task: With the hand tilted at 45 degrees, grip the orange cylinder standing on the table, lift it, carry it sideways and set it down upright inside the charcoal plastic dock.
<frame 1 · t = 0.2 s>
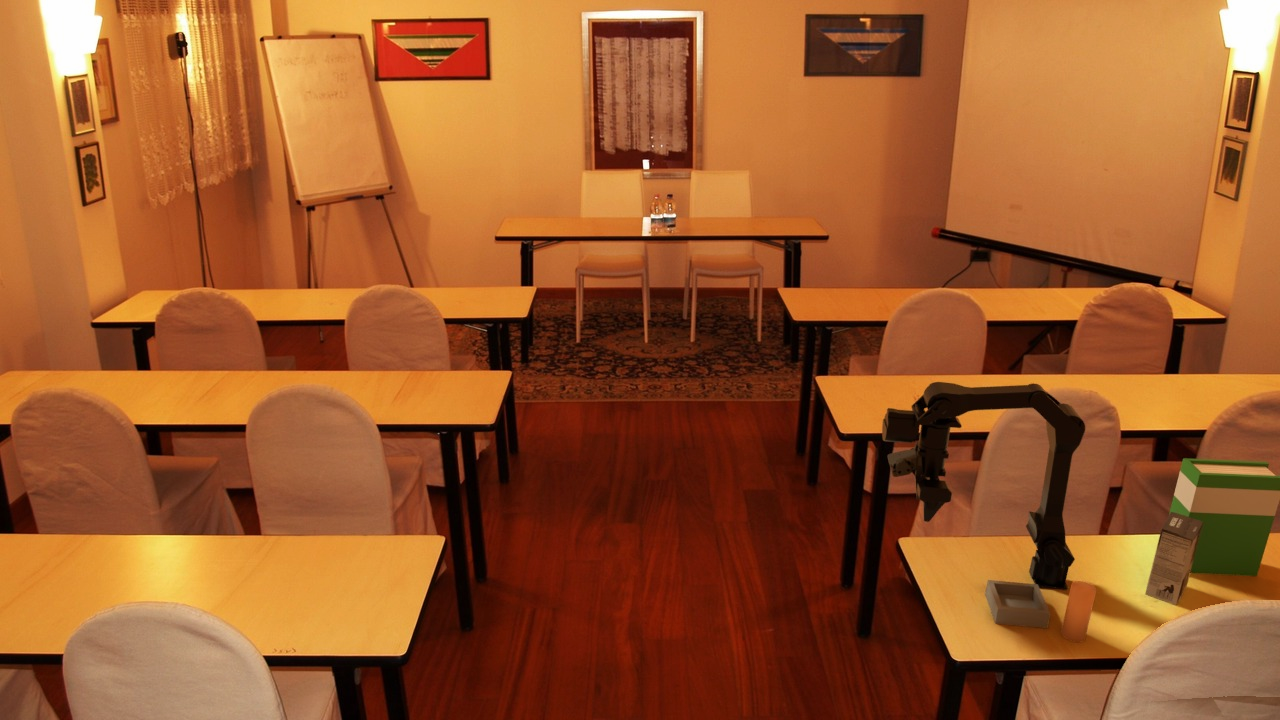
hand: (922, 510, 207), 15 cm above the table, tool pointing down, fingers open, 9 cm apart
orange cylinder: (1073, 635, 193), on the table
dock: (1015, 610, 200), on the table
coffee box: (1165, 591, 208), on the table
hardback book: (1206, 565, 217), on the table
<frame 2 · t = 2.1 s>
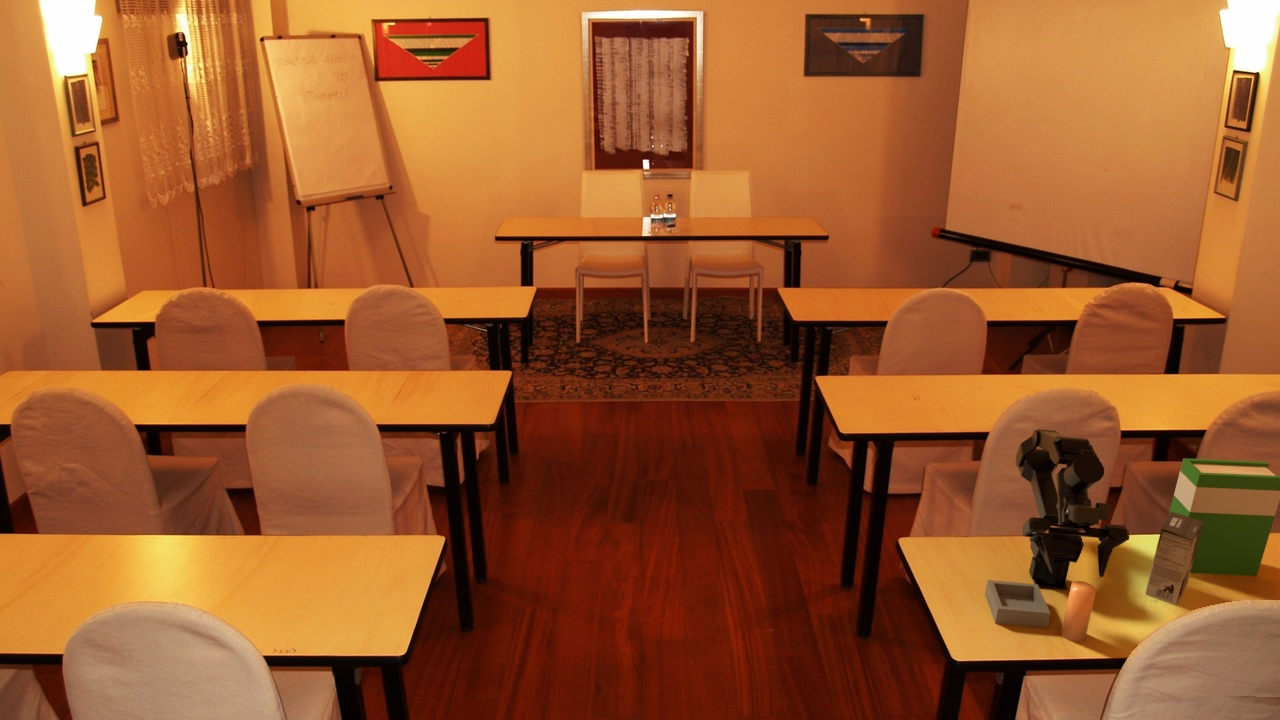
hand: (1076, 574, 192), 11 cm above the table, tool tilted 45°, fingers open, 9 cm apart
nothing on the table moved.
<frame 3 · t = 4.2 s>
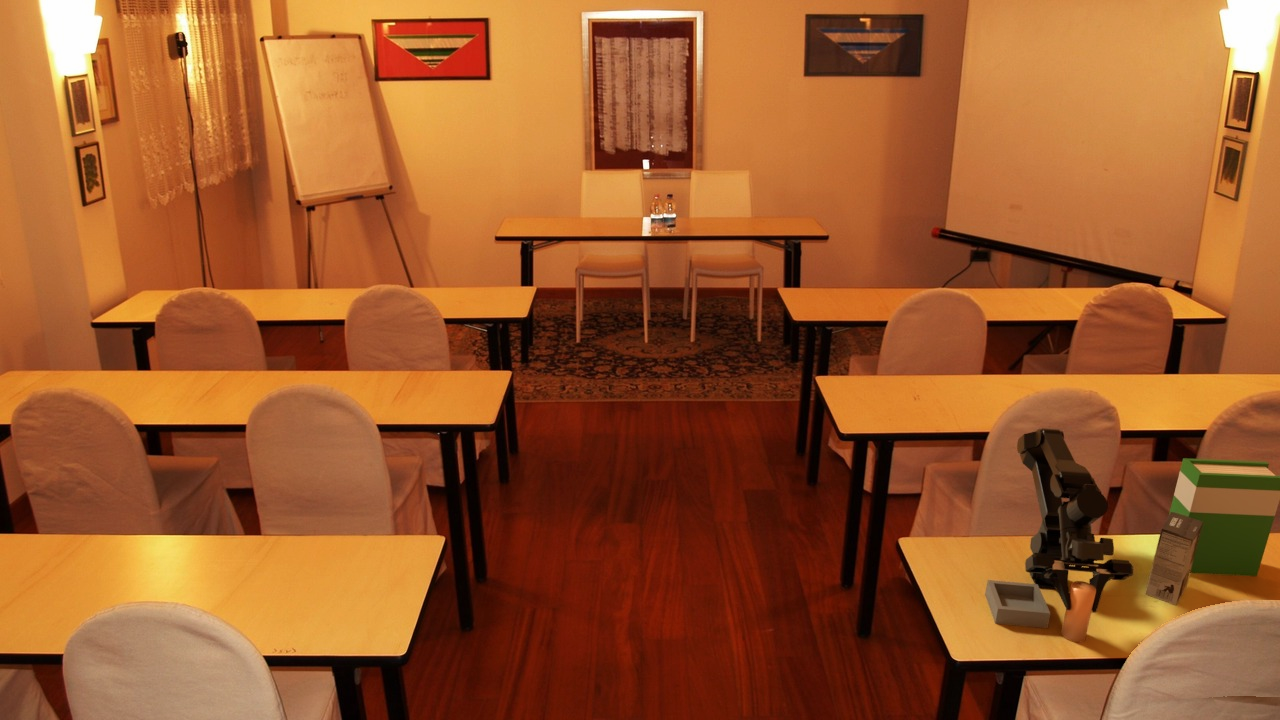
hand: (1081, 611, 189), 7 cm above the table, tool tilted 45°, fingers closed on orange cylinder, 4 cm apart
orange cylinder: (1073, 635, 193), on the table, touching gripper
everything else where it was.
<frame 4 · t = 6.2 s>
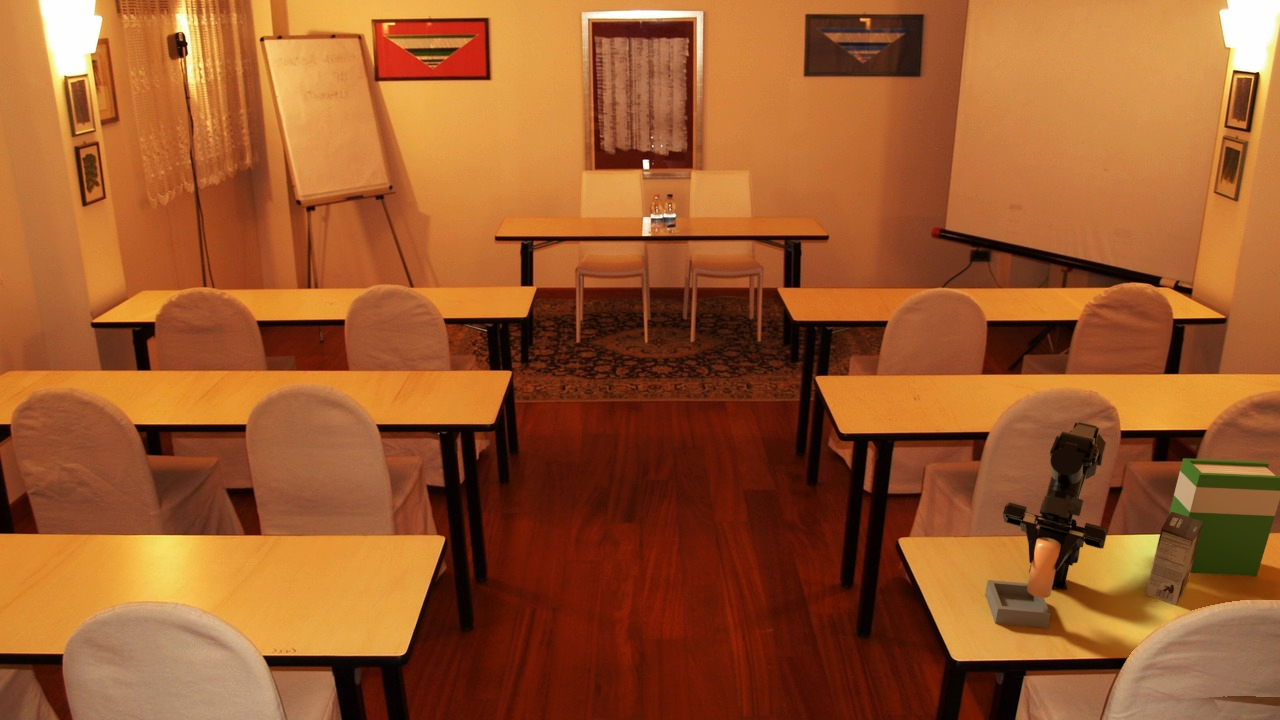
hand: (1043, 566, 191), 14 cm above the table, tool tilted 45°, fingers closed on orange cylinder, 4 cm apart
orange cylinder: (1038, 591, 194), point 7 cm above the table, touching gripper
everything else where it was.
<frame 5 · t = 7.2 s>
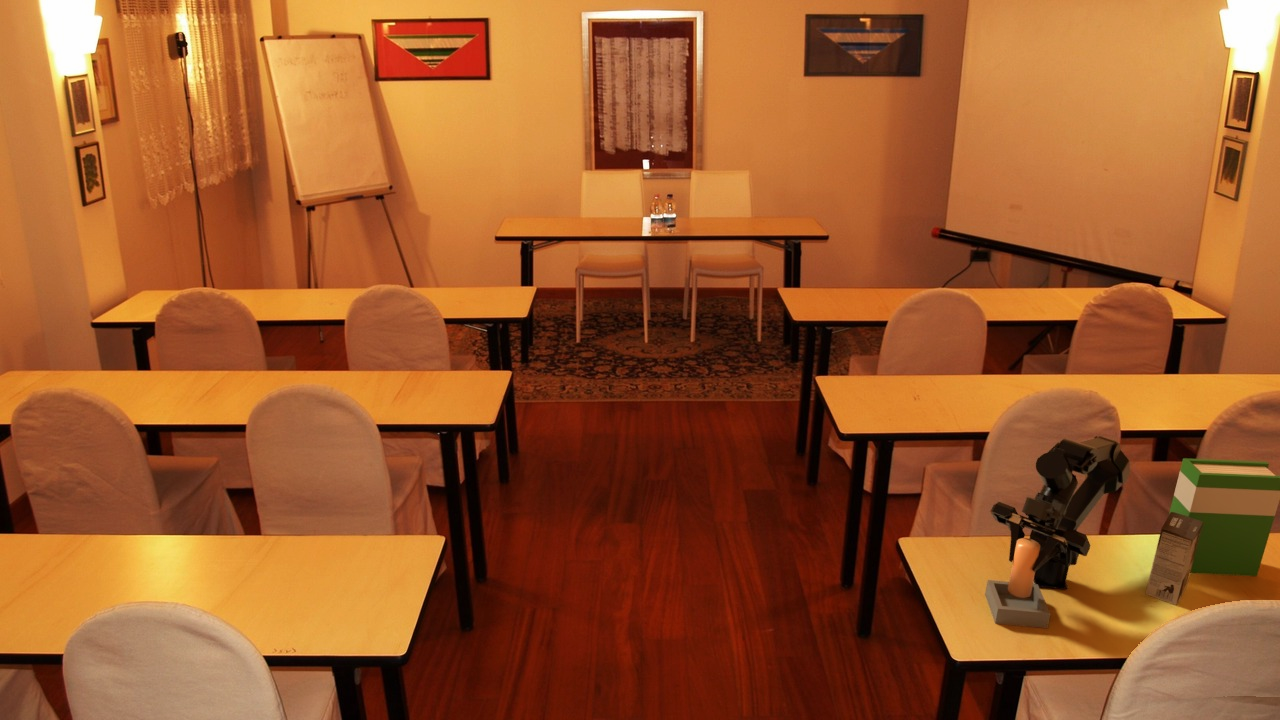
hand: (1021, 565, 195), 11 cm above the table, tool tilted 45°, fingers closed on orange cylinder, 4 cm apart
orange cylinder: (1019, 591, 198), point 5 cm above the table, touching gripper
everything else where it was.
when the fingers open (9 cm above the table, at t = 8.1 s): orange cylinder stays where it is, resting on dock.
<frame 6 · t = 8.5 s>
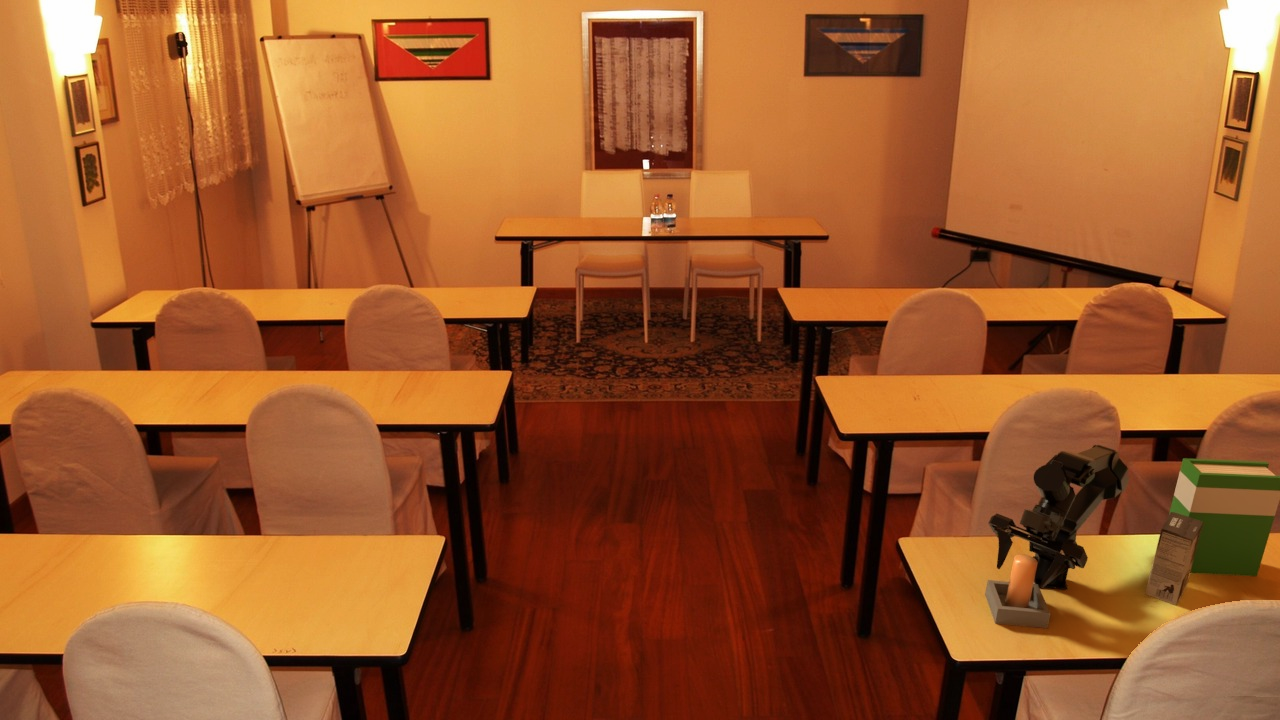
hand: (1019, 577, 195), 9 cm above the table, tool tilted 45°, fingers open, 9 cm apart
orange cylinder: (1016, 606, 199), point 1 cm above the table, touching dock
everything else where it was.
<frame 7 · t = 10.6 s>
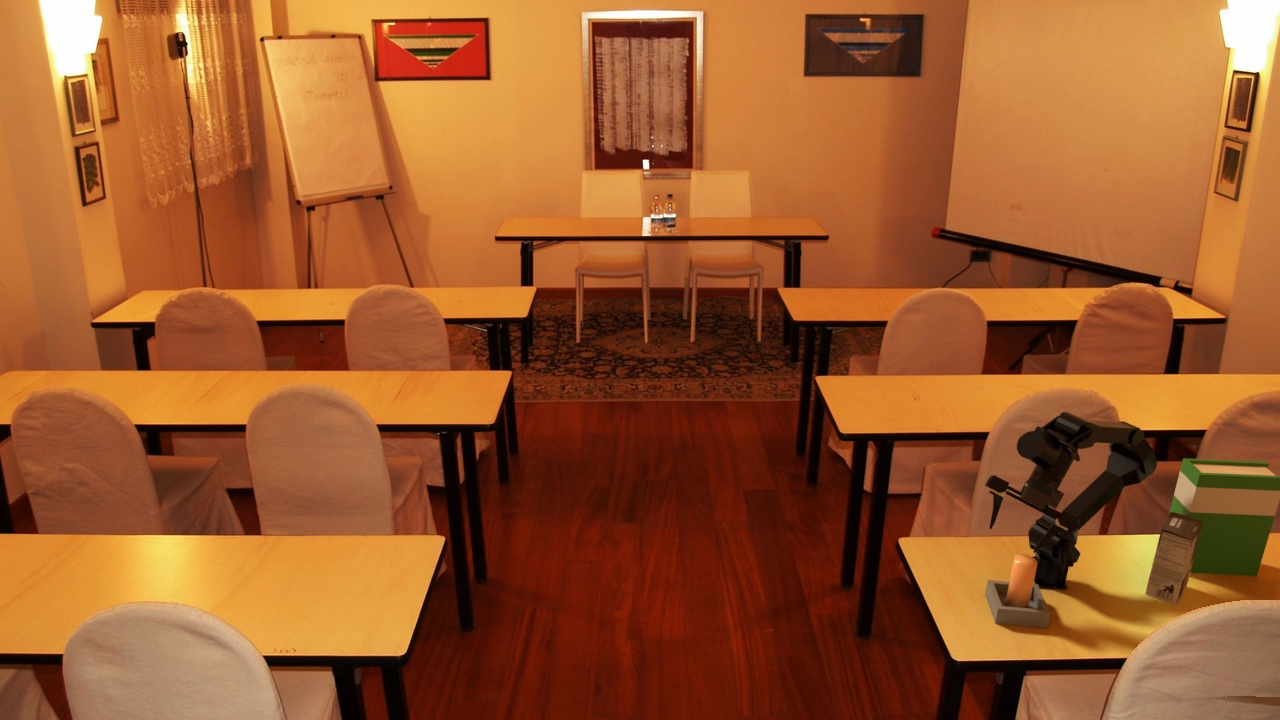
hand: (1011, 540, 198), 14 cm above the table, tool tilted 30°, fingers open, 9 cm apart
nothing on the table moved.
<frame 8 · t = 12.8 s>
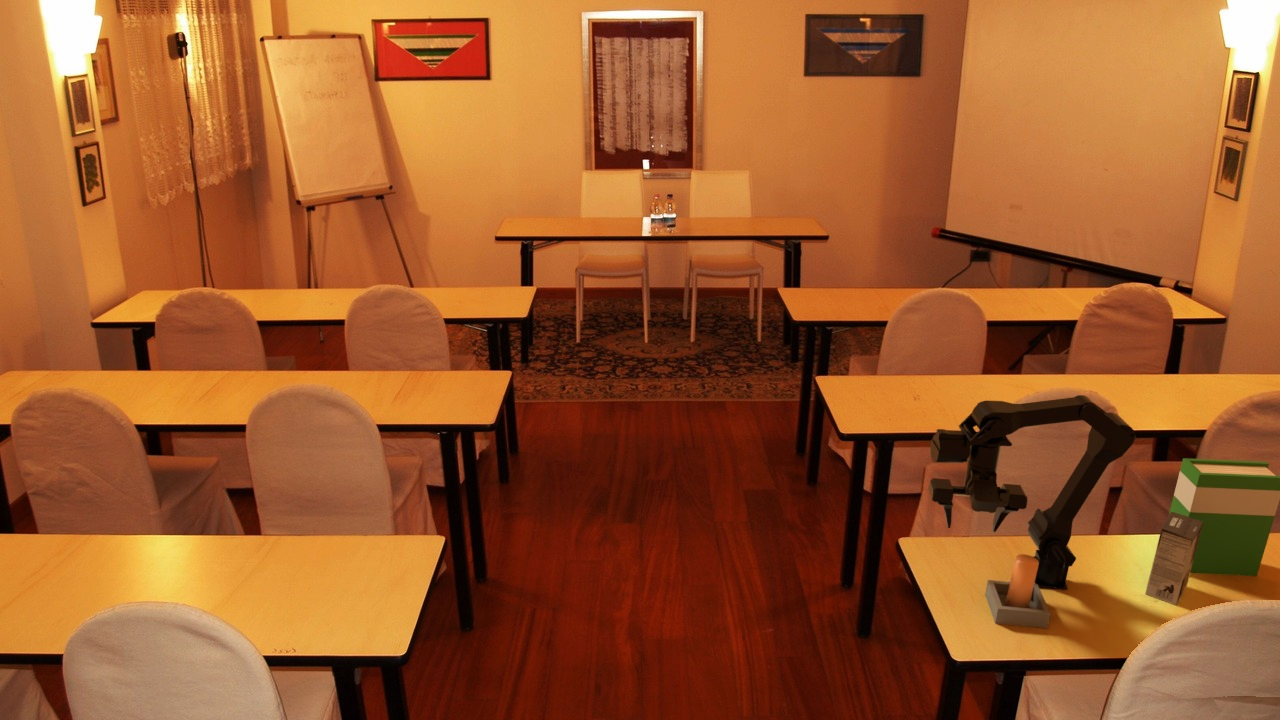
hand: (971, 529, 206), 12 cm above the table, tool pointing down, fingers open, 9 cm apart
nothing on the table moved.
at the end: orange cylinder 0.1 cm off-centre on the dock, point 1.1 cm above the dock's base; orange cylinder tilted 1°; the gripper is holding nothing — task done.
